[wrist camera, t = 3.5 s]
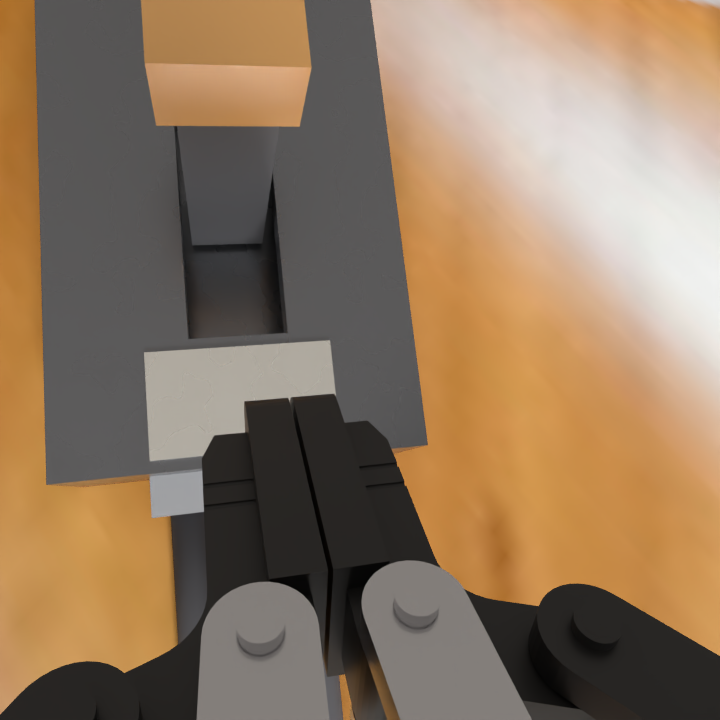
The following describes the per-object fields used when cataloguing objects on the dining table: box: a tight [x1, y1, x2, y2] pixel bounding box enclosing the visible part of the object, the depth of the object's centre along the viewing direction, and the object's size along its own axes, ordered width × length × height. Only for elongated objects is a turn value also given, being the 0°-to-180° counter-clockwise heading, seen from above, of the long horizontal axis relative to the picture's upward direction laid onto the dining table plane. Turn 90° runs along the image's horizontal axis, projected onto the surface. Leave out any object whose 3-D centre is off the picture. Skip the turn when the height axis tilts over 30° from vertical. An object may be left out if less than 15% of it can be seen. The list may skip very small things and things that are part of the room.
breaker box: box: [35, 0, 428, 487], centre depth 29 cm, size 24×14×6 cm, turn 6°
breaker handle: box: [141, 0, 312, 245], centre depth 24 cm, size 4×4×14 cm
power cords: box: [150, 471, 343, 720], centre depth 27 cm, size 14×8×4 cm, turn 6°
